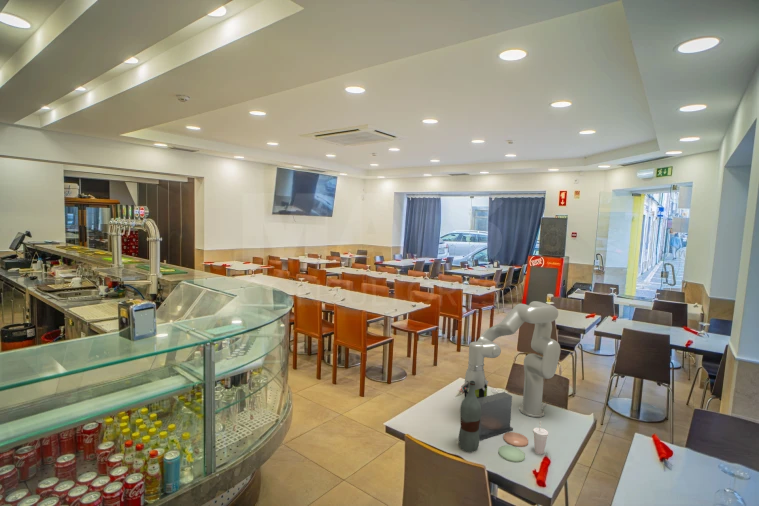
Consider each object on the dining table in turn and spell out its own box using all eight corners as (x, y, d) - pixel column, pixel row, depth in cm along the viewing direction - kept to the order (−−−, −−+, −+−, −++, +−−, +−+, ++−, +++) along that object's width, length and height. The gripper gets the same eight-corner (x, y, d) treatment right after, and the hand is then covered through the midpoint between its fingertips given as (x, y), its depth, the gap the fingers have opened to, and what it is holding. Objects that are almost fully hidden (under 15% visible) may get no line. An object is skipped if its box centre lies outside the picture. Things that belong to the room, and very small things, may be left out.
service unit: (502, 424, 201) (504, 390, 200) (512, 430, 195) (515, 396, 193) (468, 433, 190) (471, 398, 189) (479, 441, 184) (481, 404, 183)
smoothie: (529, 448, 180) (531, 418, 179) (542, 448, 180) (544, 418, 179) (535, 456, 173) (538, 425, 172) (549, 456, 174) (552, 425, 173)
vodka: (455, 441, 183) (459, 377, 181) (475, 441, 184) (479, 377, 181) (461, 452, 174) (465, 386, 171) (481, 452, 174) (486, 386, 172)
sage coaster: (510, 445, 181) (510, 443, 181) (530, 458, 172) (530, 455, 172) (493, 451, 176) (493, 449, 176) (512, 464, 166) (512, 462, 166)
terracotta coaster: (514, 432, 193) (514, 430, 193) (533, 443, 184) (533, 441, 184) (498, 437, 188) (498, 435, 188) (516, 449, 178) (516, 447, 178)
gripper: (483, 361, 209) (481, 393, 210) (457, 367, 200) (456, 400, 202) (493, 366, 203) (492, 399, 204) (467, 372, 194) (466, 406, 195)
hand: (474, 399), depth 203 cm, fingers open, 9 cm apart
